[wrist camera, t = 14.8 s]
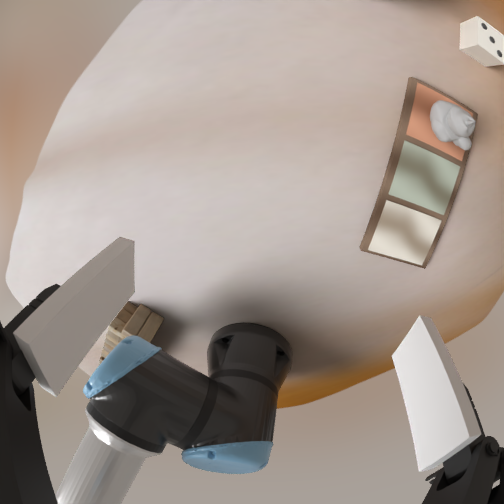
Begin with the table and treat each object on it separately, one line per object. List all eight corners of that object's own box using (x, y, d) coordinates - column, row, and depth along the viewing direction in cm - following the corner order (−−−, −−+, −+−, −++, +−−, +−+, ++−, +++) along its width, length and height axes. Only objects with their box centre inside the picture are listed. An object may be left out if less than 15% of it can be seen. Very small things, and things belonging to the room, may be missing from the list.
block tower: (132, 292, 48) (106, 362, 60) (110, 320, 40) (91, 384, 53) (167, 315, 49) (131, 378, 61) (149, 346, 41) (118, 402, 54)
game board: (422, 265, 35) (425, 269, 34) (359, 247, 36) (361, 251, 35) (473, 113, 24) (478, 113, 23) (408, 77, 24) (412, 76, 23)
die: (485, 66, 20) (505, 64, 15) (459, 49, 20) (478, 44, 15) (485, 40, 17) (504, 35, 13) (460, 23, 18) (477, 15, 13)
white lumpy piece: (441, 91, 23) (476, 89, 16) (467, 134, 24) (503, 143, 17) (415, 113, 25) (446, 115, 18) (443, 156, 27) (476, 169, 20)
